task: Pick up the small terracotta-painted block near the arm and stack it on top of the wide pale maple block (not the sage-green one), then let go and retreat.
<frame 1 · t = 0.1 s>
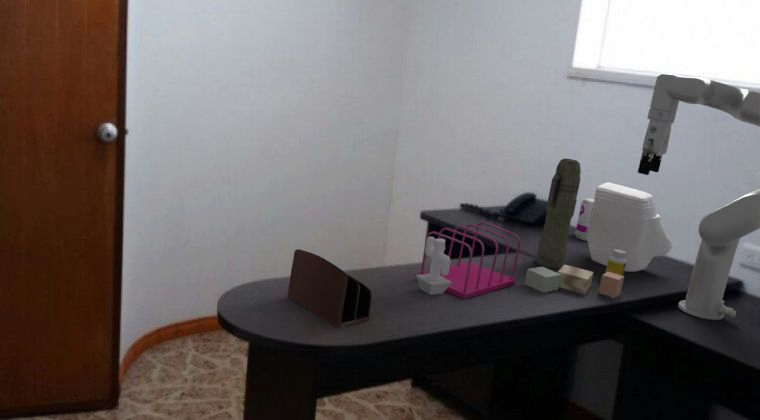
hand: (648, 172, 226), 37 cm above the table, tool pointing down, fingers open, 9 cm apart
file sorter: (466, 283, 218), on the table
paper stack: (616, 265, 257), on the table
sage block: (540, 287, 223), on the table
thermos: (548, 264, 247), on the table
maple block: (572, 287, 228), on the table
supplement can: (585, 238, 287), on the table
letter holder: (327, 310, 184), on the table
supplement bottle: (612, 280, 240), on the table
figurine: (431, 291, 207), on the table
terracotta block: (609, 294, 226), on the table
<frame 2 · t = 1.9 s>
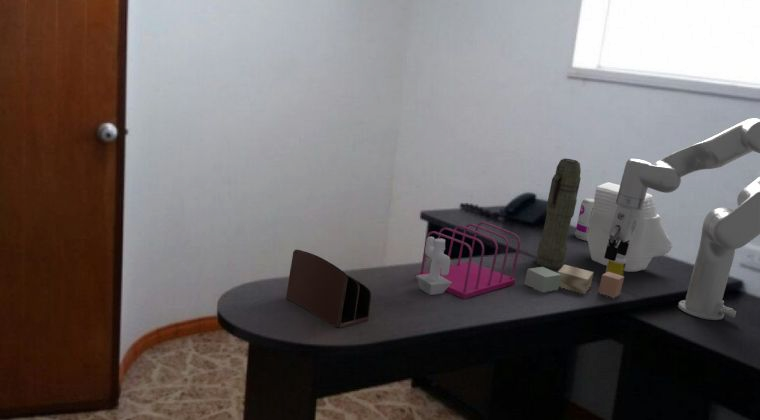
hand: (615, 256, 223), 12 cm above the table, tool pointing down, fingers open, 9 cm apart
nothing on the table moved.
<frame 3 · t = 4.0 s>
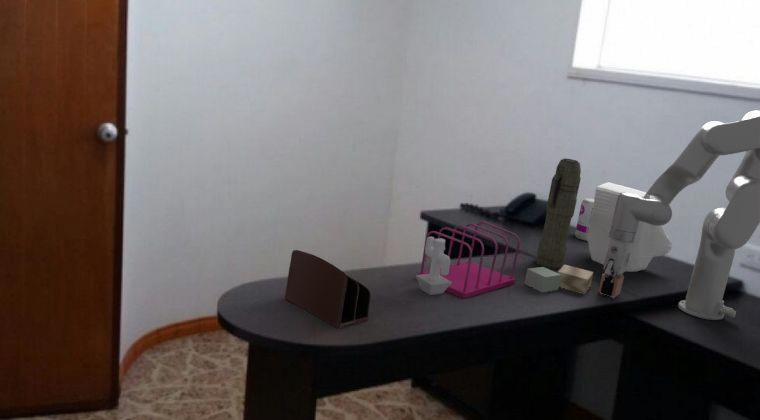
hand: (609, 291, 226), 1 cm above the table, tool pointing down, fingers closed on terracotta block, 5 cm apart
terracotta block: (608, 294, 226), on the table, touching gripper
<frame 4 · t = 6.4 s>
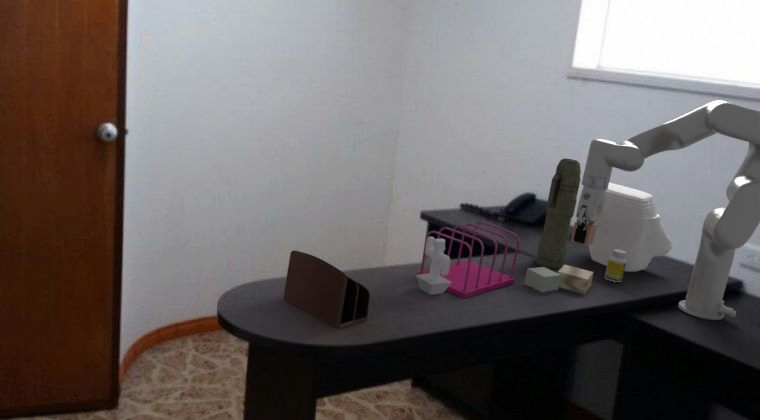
hand: (582, 240, 224), 15 cm above the table, tool pointing down, fingers closed on terracotta block, 5 cm apart
terracotta block: (581, 242, 225), point 14 cm above the table, touching gripper
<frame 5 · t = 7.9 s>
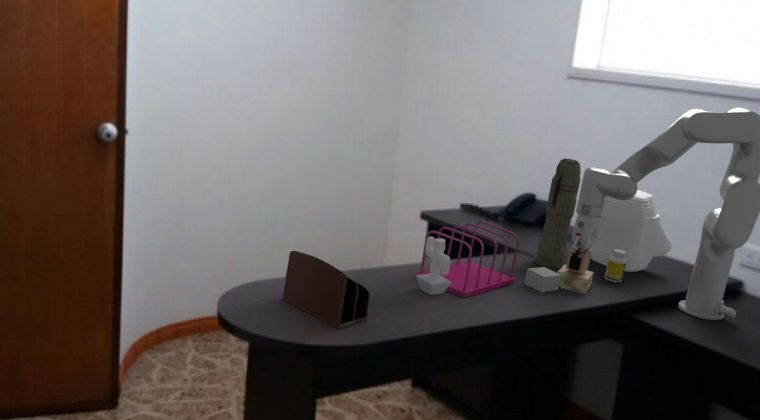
hand: (577, 267, 227), 6 cm above the table, tool pointing down, fingers closed on terracotta block, 5 cm apart
terracotta block: (576, 269, 227), point 5 cm above the table, touching gripper
when the fingers open (6 cm above the table, at t = 8.9 s): terracotta block stays where it is, resting on maple block.
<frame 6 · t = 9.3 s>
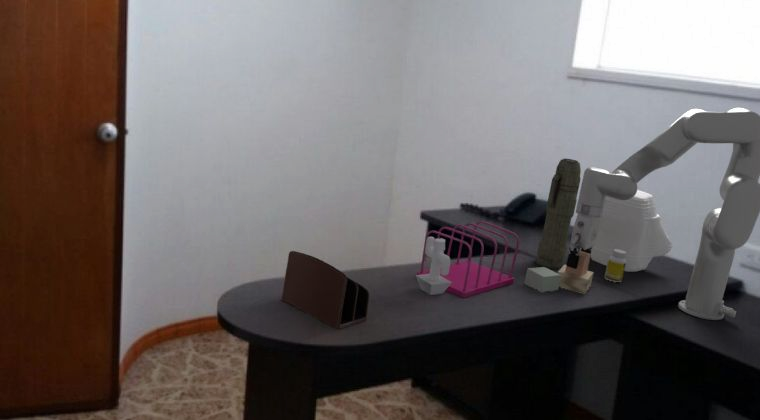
hand: (577, 264, 226), 7 cm above the table, tool pointing down, fingers open, 9 cm apart
maple block: (572, 287, 228), on the table, touching terracotta block
terracotta block: (575, 271, 227), point 5 cm above the table, touching maple block
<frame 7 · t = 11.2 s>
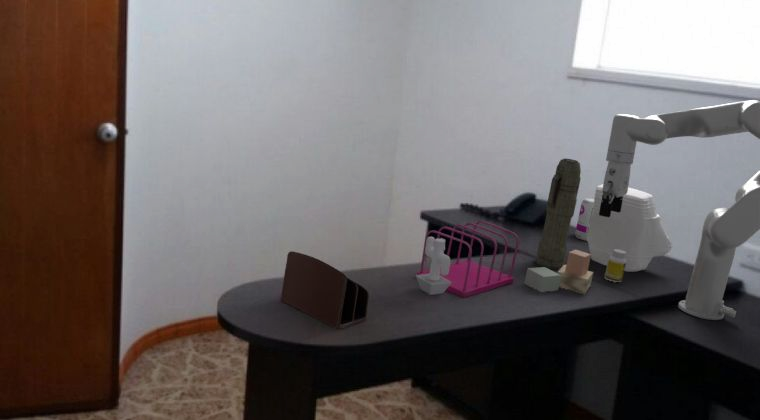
hand: (609, 213, 223), 24 cm above the table, tool pointing down, fingers open, 9 cm apart
maple block: (572, 287, 228), on the table
terracotta block: (576, 272, 227), point 5 cm above the table
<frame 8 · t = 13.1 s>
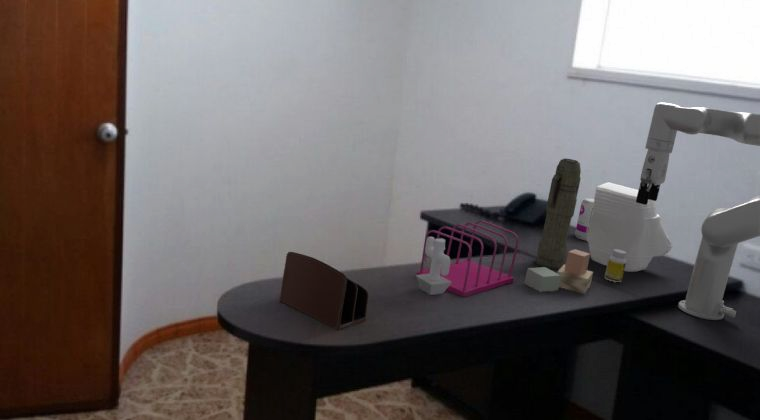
hand: (646, 201, 225), 28 cm above the table, tool pointing down, fingers open, 9 cm apart
maple block: (572, 287, 228), on the table, touching terracotta block
terracotta block: (575, 271, 227), point 5 cm above the table, touching maple block
at the end: terracotta block 0.2 cm off-centre on the maple block, point 5.0 cm above the maple block's base; terracotta block tilted 0°; the gripper is holding nothing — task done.
